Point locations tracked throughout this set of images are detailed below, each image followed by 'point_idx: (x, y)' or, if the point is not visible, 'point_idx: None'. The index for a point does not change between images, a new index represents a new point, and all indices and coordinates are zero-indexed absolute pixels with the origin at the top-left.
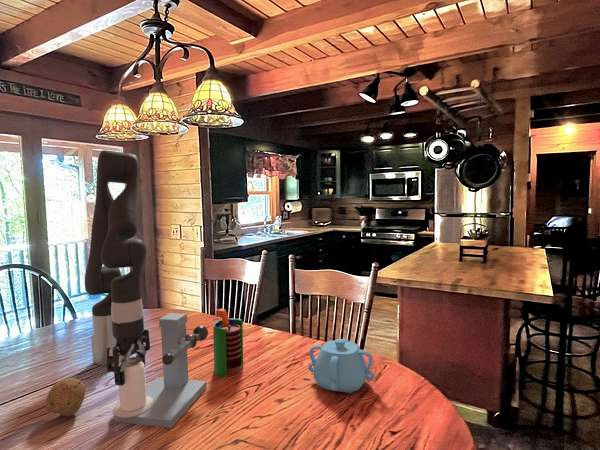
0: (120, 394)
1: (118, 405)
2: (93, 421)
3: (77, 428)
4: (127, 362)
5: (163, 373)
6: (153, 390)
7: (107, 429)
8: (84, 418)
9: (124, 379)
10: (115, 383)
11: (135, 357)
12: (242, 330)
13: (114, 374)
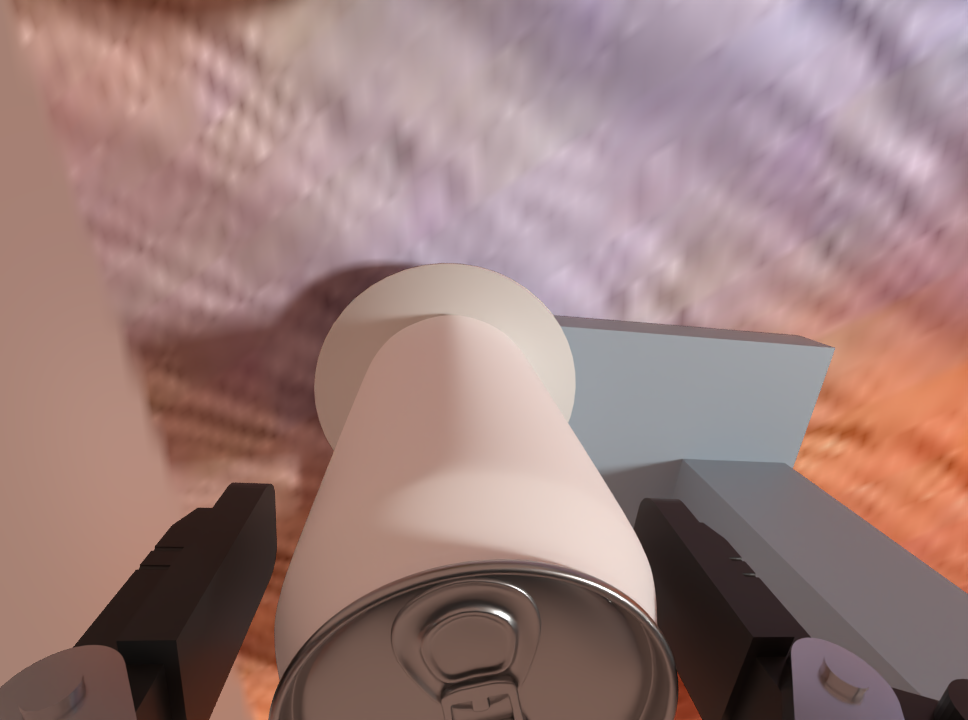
0: (354, 402)
1: (437, 291)
2: (330, 151)
3: (230, 81)
4: (489, 654)
5: (745, 520)
6: (649, 412)
7: (269, 307)
8: (353, 49)
9: (250, 614)
10: (192, 514)
11: (667, 696)
12: None
13: (89, 629)
